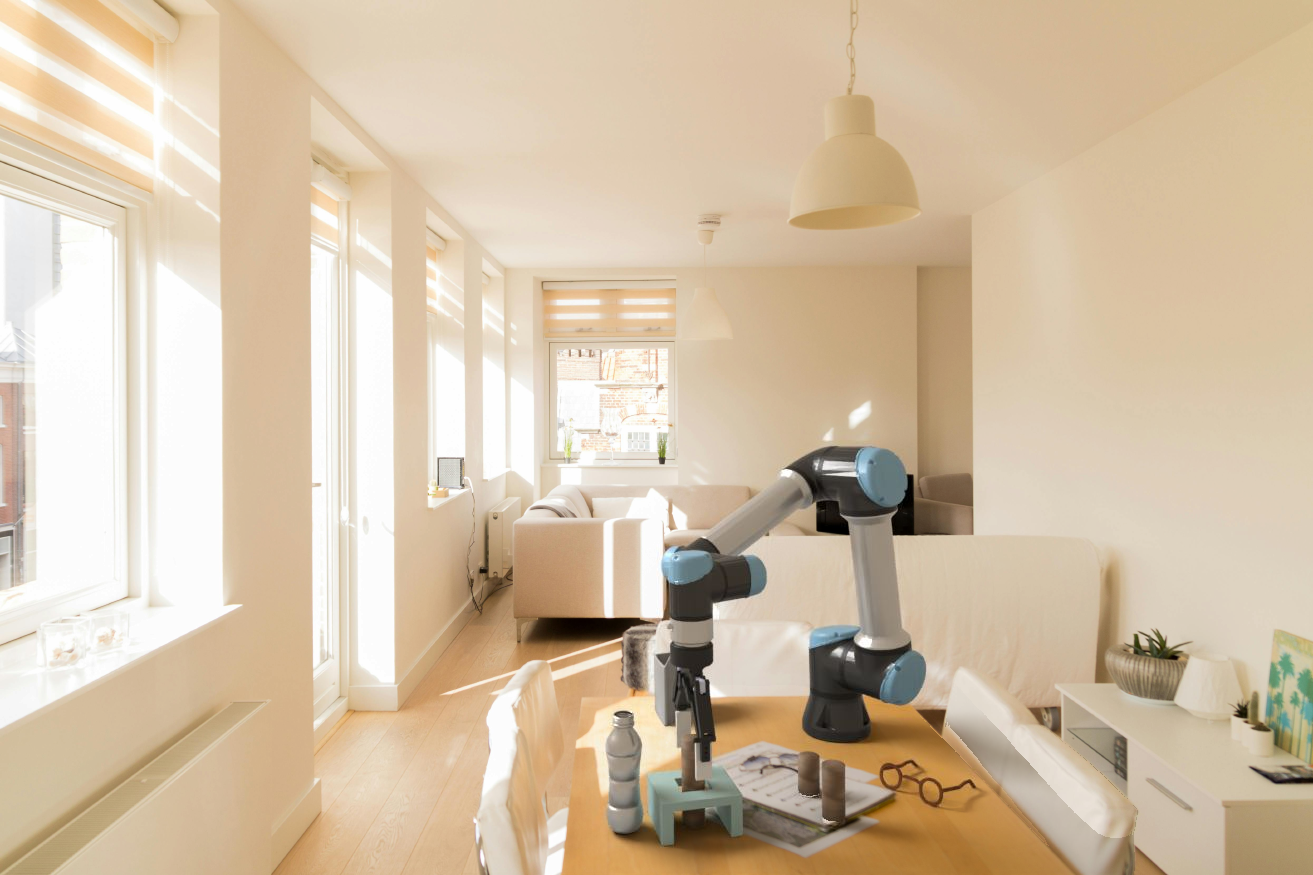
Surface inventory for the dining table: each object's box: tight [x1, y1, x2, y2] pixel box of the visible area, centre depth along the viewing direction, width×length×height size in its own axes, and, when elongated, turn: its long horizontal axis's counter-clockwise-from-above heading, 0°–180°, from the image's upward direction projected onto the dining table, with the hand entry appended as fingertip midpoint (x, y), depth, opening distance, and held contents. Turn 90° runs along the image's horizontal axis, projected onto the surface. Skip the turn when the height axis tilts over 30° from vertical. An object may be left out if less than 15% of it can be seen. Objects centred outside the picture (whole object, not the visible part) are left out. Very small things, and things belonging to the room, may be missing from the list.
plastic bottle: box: [605, 710, 645, 835], centre depth 140 cm, size 6×7×20 cm
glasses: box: [879, 759, 977, 807], centre depth 155 cm, size 13×13×5 cm
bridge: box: [646, 764, 744, 847], centre depth 142 cm, size 14×12×7 cm
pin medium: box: [821, 759, 847, 828], centre depth 142 cm, size 4×4×10 cm
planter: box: [653, 651, 692, 727], centre depth 195 cm, size 16×8×19 cm, turn 149°
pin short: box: [797, 750, 821, 796], centre depth 153 cm, size 4×4×7 cm
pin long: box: [680, 733, 706, 830], centre depth 142 cm, size 4×4×15 cm
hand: (693, 761), depth 142 cm, fingers open, 13 cm apart
